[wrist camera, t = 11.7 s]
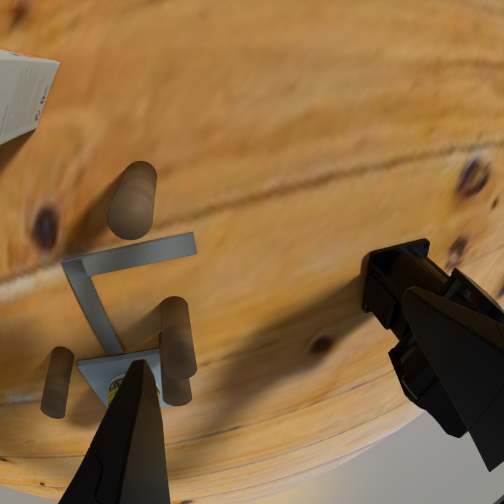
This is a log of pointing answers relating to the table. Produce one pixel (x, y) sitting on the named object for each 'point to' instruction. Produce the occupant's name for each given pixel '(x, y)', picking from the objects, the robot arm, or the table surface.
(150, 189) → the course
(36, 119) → the skincare box
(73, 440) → the table surface
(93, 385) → the pad
